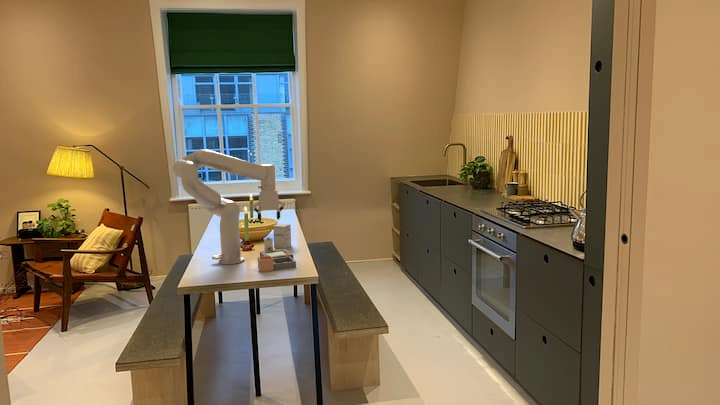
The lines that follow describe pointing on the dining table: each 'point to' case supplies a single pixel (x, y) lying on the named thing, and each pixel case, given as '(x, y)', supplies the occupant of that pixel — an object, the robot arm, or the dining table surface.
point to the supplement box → (282, 235)
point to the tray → (284, 263)
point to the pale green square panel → (276, 253)
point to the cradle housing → (277, 255)
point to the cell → (268, 244)
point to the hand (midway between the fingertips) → (269, 219)
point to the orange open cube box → (265, 264)
